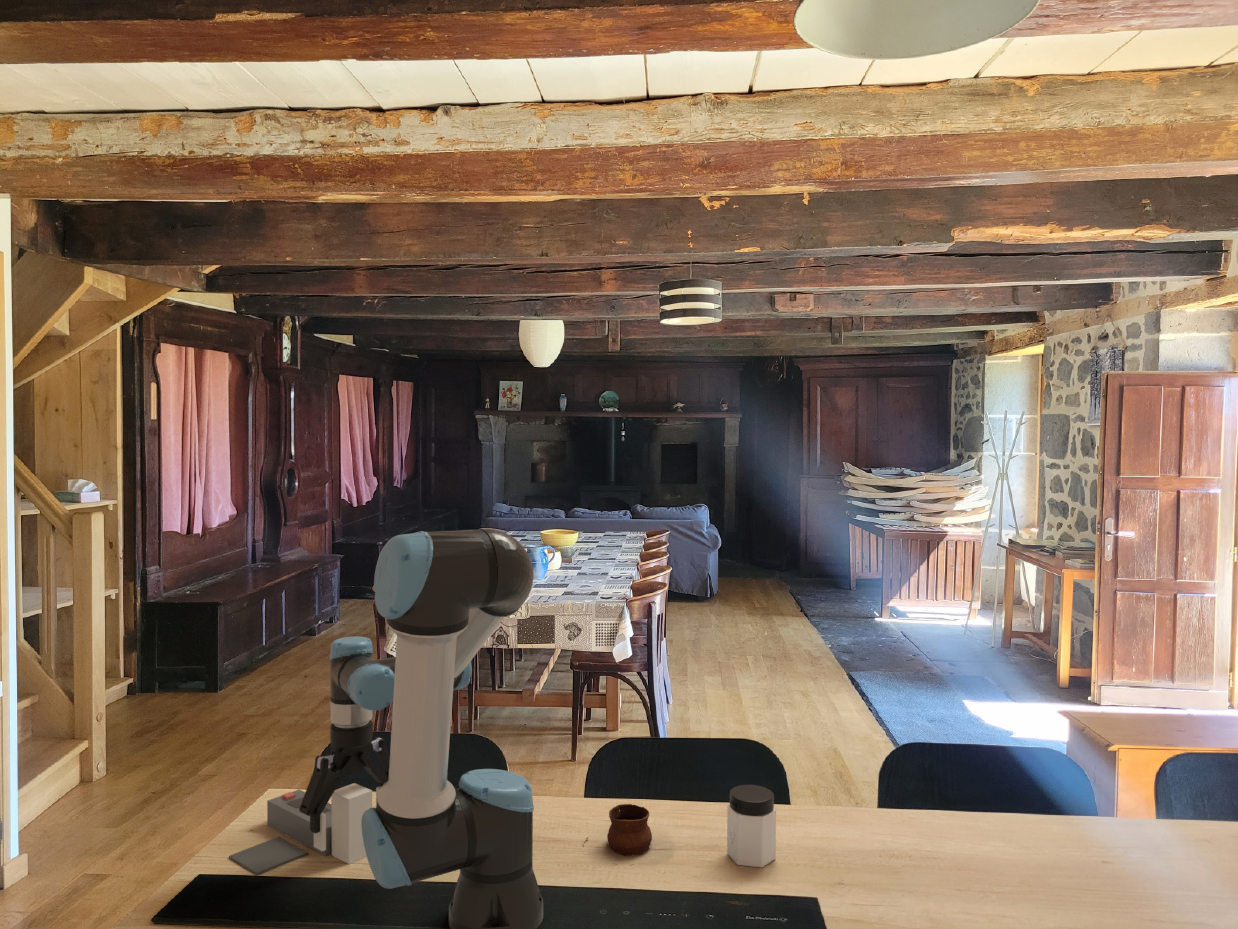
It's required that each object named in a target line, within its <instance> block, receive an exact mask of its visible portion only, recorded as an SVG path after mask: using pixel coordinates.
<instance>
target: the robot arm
mask: <svg viewBox="0 0 1238 929" xmlns="http://www.w3.org/2000/svg"><path fill="white" fill-rule="evenodd" d="M533 584H534V568H533V562H532V559H531V558H530V555H529V553H528V551H527V550H526V548H525V547H524V546H523V545H522V544H521V542H520V541H518V540H517V538H515V537H514V536H512V535H510V534H509V533H506V532H504V531H502V530H498V529H494V528H477V529H463V530H462V529H461V530H440V531H423V530H420V531H417V532H414V533H413V532H412V533H406V534H405V533H404V534H398V535H395V536H393V537H391V538H390V539H388V541H387V542H386V543H385V544H384V546H383V547H382V548H381V551H380V553H379V555H378V559H377V563H376V566H375V572H374V579H373V590H374V592H375V593H374V603H375V607H376V609H377V612H378V613H379V615H380V616H381V617H383V618H385V619H386V625H387V628H389V629H390V630H391V631H392V632H393V633H394V634H395V635H396V641H395V642H396V645H395V646H396V647H395V656H393V657H392V656H391V657H386V658H379V659H375V658H373V656H374V648H373V642H372V639H370V638H369V637H365V636H356V635H355V636H345V637H341V638H337V639H334V640H333V641H332V643H331V644H330V651H329V658H328V661H329V686H330V687H329V688H330V691H329V695H330V699H329V700H330V702H329V703H330V706H329V707H330V710H329V711H330V722H331V725H330V727H329V730H330V731H329V732H330V733H329V735H330V737H329V738H330V746H331V752H330V754H329V755H324V756H322V755H317V756H315V758H314V768H313V772H312V774H311V777H310V779H309V782H308V785H307V787H306V790H305V791H304V792H305V795H304V798H303V800H302V803H301V805H300V808H299V811H300V812H301V813H303V814H305V815H308V816H310V830H311V832H313V833H314V847H315V848H317V849H319V850H321V851H324V850H326V814H325V813H323V812H322V811H323V810H324V808H325V806H326V805H327V803H329V801H330V800H331V796H332V794H333V792H334V791H335V790H337V788H338V785H339V784H340V782H341V781H343V780H344V778H345V777H346V775H347V776H348V775H351V774H353V773H354V772H360V771H362V770H363V769H364V770H365V771H366V772H367V773H368V774H369V775H370V776H371V777H372V778H373V779H374V781H375V782H377V784H379V785H380V786H377V787H375V797H376V798H375V802H376V804H375V807H372V808H370V809H368V810H366V811H365V812H364V813H363V815H362V821H361V825H362V836H363V842H364V847H365V851H366V855H367V857H366V860H367V861H368V864H369V867H370V870H371V872H372V875H373V877H374V879H375V881H376V882H377V883H378V885H380V886H381V887H382V888H384V889H390V890H391V889H394V888H399V887H403V886H404V887H405V886H412V884H415V883H419V882H421V881H424V880H428V879H432V878H435V877H438V876H442V875H445V874H448V873H449V874H450V873H451V872H455V871H458V870H459V874H458V878H457V880H456V881H457V882H456V883H455V884H456V885H455V888H454V892H453V897H452V898H451V901H450V903H449V906H448V926H449V928H450V929H538V928H539V927H540V925H541V924H542V922H543V919H544V899H543V896H542V893H541V891H540V887H539V884H538V881H537V878H536V875H535V871H534V868H533V867H534V866H533V856H534V853H533V852H534V851H533V848H534V846H533V843H534V842H533V841H534V839H533V838H534V836H533V833H534V832H533V830H534V810H535V807H534V800H533V798H534V797H533V788H532V785H531V783H530V782H529V781H528V780H527V779H526V778H525V777H524V776H523V775H520V774H518V773H516V772H512V771H510V770H509V771H508V770H504V769H497V768H482V769H481V768H479V769H473V770H470V771H466V772H465V773H464V774H462V775H461V776H460V779H459V782H458V787H457V788H455V786H454V785H453V784H452V783H451V782H450V781H449V780H448V768H449V766H448V765H449V753H450V751H449V750H450V739H451V738H450V737H451V725H452V724H451V723H452V710H453V697H454V696H453V695H454V691H456V690H457V691H458V690H462V689H465V688H466V687H467V686H468V685H469V684H470V681H471V677H472V674H473V673H472V672H473V667H472V660H473V659H474V657H475V656H476V655H477V654H478V652H479V651H480V649H481V648H482V647H483V646H484V644H485V643H486V642H487V641H488V639H489V638H490V637H491V635H492V634H493V633H494V632H495V630H496V629H497V628H498V626H499V625H500V624H501V623H502V622H503V620H504V619H505V618H507V617H509V616H512V615H514V614H515V613H516V612H517V611H518V610H520V608H521V607H522V606H523V605H524V604H525V602H526V601H527V599H528V598H529V596H530V594H531V590H532V588H533ZM391 704H392V713H391V732H390V748H389V750H390V751H388V748H387V740H386V739H384V738H381V737H378V736H376V737H373V735H374V732H373V731H374V730H373V728H374V727H373V726H374V725H373V723H374V722H373V721H372V719H373V717H374V713H373V712H375V711H380V710H383V709H386V708H387V707H388V706H390V705H391ZM373 751H374V753H375V756H376V758H377V759H378V762H379V763H380V766H381V767H382V769H383V772H382V771H381V770H380V768H379V767H378V766H377V765H376V763H375V762H374V761H373V760H372V759H371V758H370V756H371V754H372V753H373ZM337 771H338V772H337Z"/></svg>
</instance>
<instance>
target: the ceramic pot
mask: <svg viewBox="0 0 1238 929" xmlns="http://www.w3.org/2000/svg"><path fill="white" fill-rule="evenodd" d="M608 817H609V820H610V825H609V829H608V832H607V843H608V844H607V845H608V846H609V847H610V849H611V850H612V851H613V852H614V853H615V854H618V855H621V856H628V857H629V856H630V857H631V856H640V855H642V854H644V853H646V852H647V851H648V849H649V848H650V846H651V842H652V840H653V835H652V830H651V828H650V826H649V825H648V821H649V817H650V811H649V810H648V809H647V808H645V807H644V806H639V805H638V804H632V803H623V804H622V803H621V804H617V805H615V806H613V807H612V808H611V809H609V813H608ZM588 841H589V836H588V837H586V838H585V841H584V842H583V844H582V847H583V848H584V847H585V846H584V844H586V843H587V842H588Z"/></svg>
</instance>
